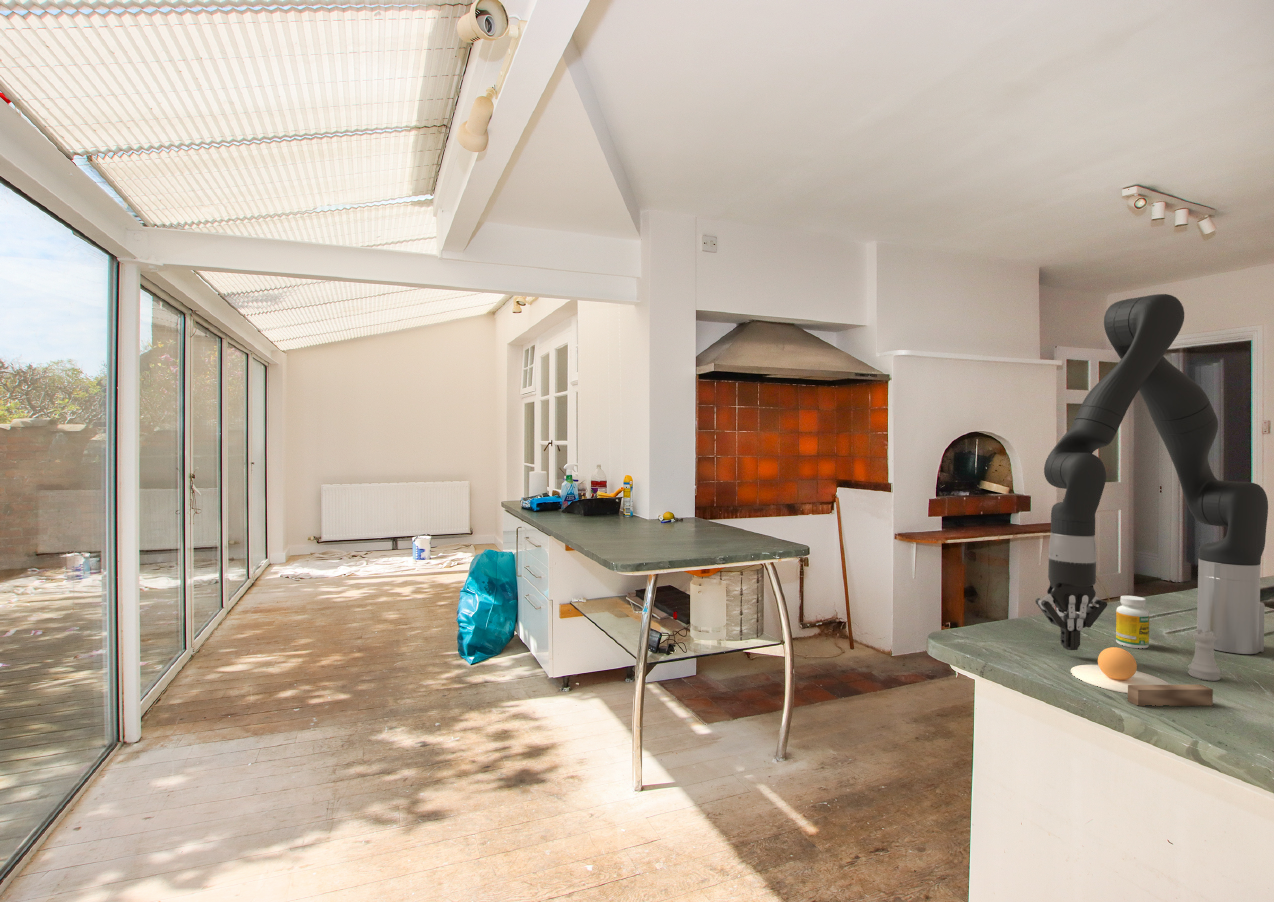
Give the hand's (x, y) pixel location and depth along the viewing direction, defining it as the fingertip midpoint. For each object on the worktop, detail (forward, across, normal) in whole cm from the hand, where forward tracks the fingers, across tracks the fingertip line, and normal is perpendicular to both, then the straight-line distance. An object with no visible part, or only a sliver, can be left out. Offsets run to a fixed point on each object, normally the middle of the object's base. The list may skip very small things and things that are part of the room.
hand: (1070, 648), depth 124 cm
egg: (-1, 0, -12) cm, 12 cm away
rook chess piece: (+2, +16, -11) cm, 19 cm away
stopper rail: (+2, 0, -22) cm, 22 cm away
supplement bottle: (+2, +18, +7) cm, 19 cm away
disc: (+2, 0, -12) cm, 12 cm away
